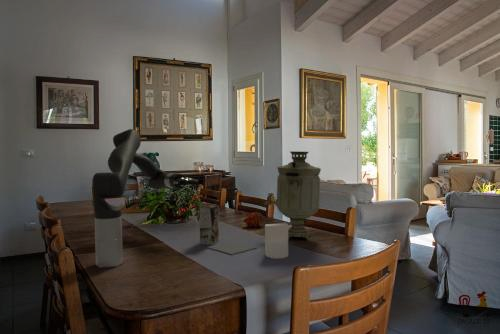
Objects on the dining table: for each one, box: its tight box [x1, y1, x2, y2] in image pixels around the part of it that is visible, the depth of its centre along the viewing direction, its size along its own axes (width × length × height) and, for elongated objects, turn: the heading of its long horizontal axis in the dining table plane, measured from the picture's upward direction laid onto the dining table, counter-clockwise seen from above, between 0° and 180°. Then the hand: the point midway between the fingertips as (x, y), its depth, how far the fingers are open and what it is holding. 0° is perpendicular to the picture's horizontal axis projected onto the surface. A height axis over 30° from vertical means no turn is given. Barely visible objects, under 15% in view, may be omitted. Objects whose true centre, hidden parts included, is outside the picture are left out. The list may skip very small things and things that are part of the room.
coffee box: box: [199, 204, 220, 246], centre depth 171 cm, size 9×6×16 cm
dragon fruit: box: [243, 211, 265, 228], centre depth 206 cm, size 8×8×12 cm
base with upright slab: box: [264, 222, 289, 259], centre depth 150 cm, size 9×9×12 cm
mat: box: [206, 240, 258, 256], centre depth 161 cm, size 16×14×1 cm
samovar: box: [263, 151, 322, 242], centre depth 180 cm, size 30×26×40 cm
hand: (196, 182), depth 177 cm, fingers closed
